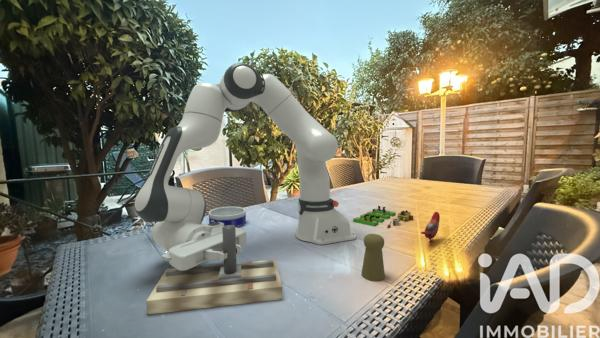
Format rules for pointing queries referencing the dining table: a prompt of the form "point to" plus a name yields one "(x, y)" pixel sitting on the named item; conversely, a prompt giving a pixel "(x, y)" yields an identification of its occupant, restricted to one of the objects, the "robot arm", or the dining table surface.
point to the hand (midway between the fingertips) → (232, 253)
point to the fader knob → (229, 254)
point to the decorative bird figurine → (432, 227)
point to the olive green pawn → (373, 258)
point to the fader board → (214, 287)
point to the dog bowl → (228, 216)
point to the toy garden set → (382, 217)
